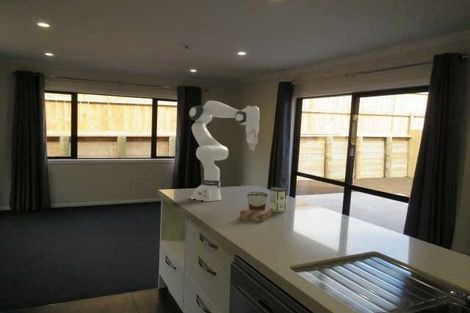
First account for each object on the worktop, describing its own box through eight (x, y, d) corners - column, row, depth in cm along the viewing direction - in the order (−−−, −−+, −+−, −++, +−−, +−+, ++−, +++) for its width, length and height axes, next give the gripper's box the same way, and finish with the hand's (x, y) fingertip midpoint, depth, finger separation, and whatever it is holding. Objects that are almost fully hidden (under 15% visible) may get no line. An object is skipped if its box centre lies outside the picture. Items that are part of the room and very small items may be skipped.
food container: (266, 208, 206) (266, 191, 205) (267, 210, 200) (268, 193, 199) (245, 207, 205) (246, 191, 205) (246, 209, 199) (246, 192, 199)
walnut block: (240, 219, 197) (240, 211, 197) (250, 213, 212) (250, 205, 211) (263, 222, 191) (263, 214, 191) (272, 216, 206) (272, 208, 206)
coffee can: (275, 207, 228) (276, 186, 227) (288, 210, 221) (289, 188, 220) (266, 210, 220) (267, 188, 219) (279, 213, 213) (280, 190, 212)
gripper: (260, 129, 221) (259, 151, 222) (254, 129, 241) (253, 149, 242) (250, 129, 220) (250, 151, 221) (245, 129, 240) (244, 149, 241)
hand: (251, 150), depth 232 cm, fingers open, 8 cm apart
